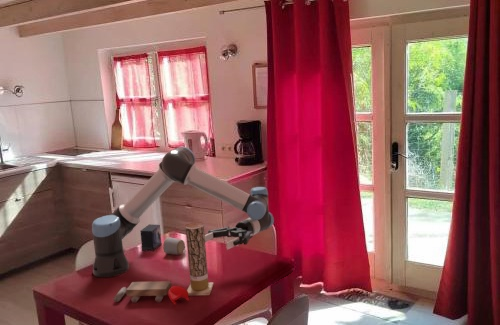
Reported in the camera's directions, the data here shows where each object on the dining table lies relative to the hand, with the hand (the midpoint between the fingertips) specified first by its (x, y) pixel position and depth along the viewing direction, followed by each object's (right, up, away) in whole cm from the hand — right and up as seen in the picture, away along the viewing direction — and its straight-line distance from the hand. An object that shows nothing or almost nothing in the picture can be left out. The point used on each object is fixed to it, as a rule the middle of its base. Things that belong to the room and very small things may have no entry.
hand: (213, 243), depth 185 cm
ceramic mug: (-21, -11, +38) cm, 45 cm away
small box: (-34, -11, +47) cm, 59 cm away
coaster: (-5, -17, -5) cm, 19 cm away
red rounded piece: (-12, -19, -13) cm, 26 cm away
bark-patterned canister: (-5, -16, -5) cm, 18 cm away
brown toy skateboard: (-26, -19, -8) cm, 33 cm away
